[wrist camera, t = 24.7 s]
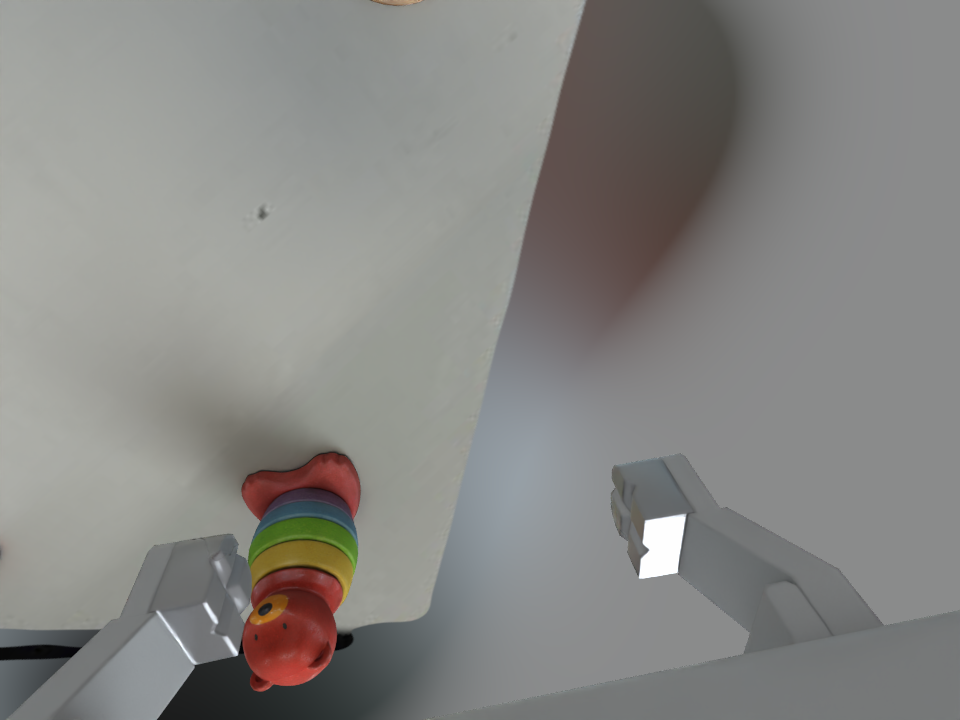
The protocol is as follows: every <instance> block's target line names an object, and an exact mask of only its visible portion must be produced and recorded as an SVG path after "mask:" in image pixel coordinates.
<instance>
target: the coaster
mask: <svg viewBox="0 0 960 720" xmlns="http://www.w3.org/2000/svg"><path fill="white" fill-rule="evenodd" d="M371 1H373V2H377V3H381V4H385V5H394V6H397V5H409V4H414V3H418V2H420V1H423V0H371Z"/></svg>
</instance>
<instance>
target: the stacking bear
mask: <svg viewBox="0 0 960 720" xmlns="http://www.w3.org/2000/svg"><path fill="white" fill-rule="evenodd" d="M242 497H243V499H244V501H245V503H246V505H247V506H248V508H249V509H250V510H251V512H252V513H253V514H254V515H255V516H256V517H257V518H258V519H259V520H260V521H261V522H260V523H259V525H258V527H257V529H256V532H255V534H254V537H253V540H252V543H251V546H250V549H249V556H248V564H249V567H250V571H251V575H252V593H251V603H252V606H253V609H254V610H253V611H252V613H251V614H250V616H249V617H248V619H247V621H246V623H245V626H244V630H243V649H244V654H245V657H246V660H247V662H248V664H249V666H250V667H251V669H252V670H253V671H254V672H253V674H252V676H251V679H250V684H251V686H252V688H253V689H254V690H256V691H264V690H267V689H268V688H270V687H271V686H272V685H273V684H277V685H282V686H290V685H298V684H302V683H304V682H307V681H309V680H310V679H312V678H314V677H315V676H316V675H318V674H319V673H320V672H321V671H322V670H323V669H324V668H325V667H326V666H327V665H328V664H329V662H330V660H331V658H332V654H333V652H334V649H335V645H336V638H337V630H336V623H335V620H334V617H333V614H334V613H335V611H336V610H337V609H338V607H339V606H340V605H341V604H342V603H343V602H344V600H345V599H346V597H347V594H348V592H349V589H350V586H351V582H352V578H353V575H354V572H355V568H356V564H357V557H358V539H357V533H356V528H355V525H354V522H353V519H354V517H355V515H356V512H357V509H358V506H359V501H360V482H359V478H358V474H357V472H356V470H355V468H354V466H353V465H352V463H351V462H350V460H349V459H348V458H347V457H345V456H343V455H338V454H336V453H327V454H321V455H318V456H316V457H314V458H313V459H312V460H311V461H310V462H309V463H308V464H307V465H305V466H304V467H302V468H300V469H297V470H294V471H290V472H285V473H279V472H269V471H261V472H258V473H256V474H253V475H249V476H248V477H247V478H246V480H245V483H244V484H243V486H242Z"/></svg>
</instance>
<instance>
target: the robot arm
mask: <svg viewBox="0 0 960 720" xmlns="http://www.w3.org/2000/svg"><path fill="white" fill-rule="evenodd" d="M612 480H613V482H614V485H615V487H616V488H615V489H614V490H613V491H612V492H611V509H612V515H613V519H614V522H615V525H616V528H617V530H618V532H619V535H620V536H621V537H623V538H624V539H626V540H627V541H628V551H627V553H628V555H629V557H630V559H631V562H632V564H633V566H634V568H635V570H636V573H637V575H638V577H639V579H641V578H647V577H653V576H660V575H666V574H672V573H678V572H679V573H678V575H680V576H681V577H682V578H683V579H684V580H686V581H687V582H688V583H689V584H691V585H692V586H693V587H694V588H695V589H697V590H698V591H699V592H700V593H702V594H703V595H704V596H705V597H707V598H708V599H709V600H711V601H712V602H713V603H714V604H715V605H716V606H718V607H719V608H720V609H721V610H723V611H724V612H725V613H726V614H728V615H729V616H730V617H731V618H732V619H734V620H735V621H736V622H737V623H739V624H740V625H741V626H742V627H743V628H745V629H746V630H747V631H748V632H750V635H749V638H748V642H747V644H746V647H745V651H744V654H742V655H738V656H733V657H728V658H723V659H718V660H713V661H709V662H703V663H698V664H693V665H689V666H684V667H679V668H674V669H669V670H664V671H659V672H654V673H649V674H645V675H640V676H635V677H630V678H625V679H620V680H615V681H610V682H605V683H600V684H595V685H591V686H586V687H581V688H576V689H571V690H566V691H561V692H556V693H551V694H546V695H541V696H537V697H532V698H527V699H522V700H517V701H512V702H507V703H502V704H498V705H493V706H487V707H483V708H478V709H473V710H468V711H463V712H458V713H453V714H448V715H443V716H439V717H434V718H429V719H425V720H960V610H958V611H953V612H948V613H943V614H939V615H934V616H929V617H924V618H919V619H914V620H910V621H904V622H900V623H895V624H890V625H885V626H884V625H883V624H882V622H881V621H880V620H879V619H878V617H877V616H876V615H875V614H874V612H873V611H872V610H871V609H870V607H869V606H868V605H867V604H866V602H865V601H864V600H863V599H862V597H861V596H860V595H859V594H858V592H857V591H856V590H855V589H854V587H853V586H852V585H851V584H850V583H849V581H848V580H847V579H846V577H845V576H844V575H843V574H842V573H841V571H840V570H839V569H838V568H836V567H834V566H832V565H831V564H828V563H827V562H825V561H823V560H822V559H820V558H818V557H816V556H814V555H813V554H811V553H809V552H807V551H805V550H803V549H802V548H800V547H798V546H796V545H794V544H793V543H791V542H789V541H787V540H785V539H784V538H782V537H780V536H778V535H776V534H775V533H773V532H771V531H769V530H767V529H765V528H764V527H762V526H760V525H758V524H756V523H755V522H753V521H751V520H749V519H747V518H746V517H744V516H742V515H740V514H738V513H736V512H735V511H733V510H731V509H729V508H727V507H725V508H720V507H719V506H718V504H717V503H716V501H715V500H714V498H713V497H712V495H711V494H710V492H709V491H708V490H707V488H706V487H705V485H704V484H703V482H702V481H701V479H700V478H699V476H698V475H697V473H696V472H695V470H694V469H693V468H692V466H691V464H690V463H689V461H688V460H687V458H686V457H685V456H684V455H682V454H675V455H669V456H664V457H659V458H653V459H647V460H642V461H636V462H631V463H626V464H620V465H615V466H614V467H613V469H612ZM238 545H239V544H238V543H237V541H236V539H235V537H234V536H233V534H224V535H217V536H210V537H204V538H197V539H190V540H184V541H179V542H173V543H167V544H160V545H154V546H153V547H152V548H151V549H150V550H149V551H148V553H147V555H146V558H145V560H144V562H143V565H142V567H141V569H140V572H139V574H138V576H137V578H136V581H135V583H134V585H133V588H132V590H131V592H130V595H129V597H128V599H127V602H126V604H125V606H124V609H123V611H122V613H121V616H120V618H119V619H114V620H111V621H110V622H109V623H108V624H107V625H106V626H105V627H104V628H103V629H102V630H101V631H99V632H98V633H97V634H96V635H95V636H94V637H93V638H92V639H91V640H90V641H89V642H88V643H87V644H86V645H85V646H84V647H82V648H81V649H80V650H79V651H78V652H77V653H76V654H75V655H74V656H73V657H72V658H71V659H70V660H69V661H68V662H67V663H66V664H65V665H63V666H62V667H61V668H60V669H59V670H58V671H57V672H56V673H55V674H54V675H53V676H52V677H51V678H50V679H49V680H48V681H46V682H45V683H44V684H43V685H42V686H41V687H40V688H39V689H38V690H37V691H36V692H35V693H34V694H33V695H32V696H31V697H29V698H28V699H27V700H26V701H25V702H24V703H23V704H22V705H21V706H20V707H19V708H18V709H17V710H16V711H15V712H14V713H12V714H11V715H10V716H9V717H8V718H7V719H6V720H157V718H158V717H159V716H160V714H161V713H162V711H163V710H164V709H165V707H166V706H167V705H168V703H169V702H170V701H171V699H172V698H173V696H174V695H175V694H176V692H177V691H178V690H179V688H180V687H181V685H182V684H183V683H184V681H185V680H186V678H187V677H188V676H189V675H190V673H191V672H192V671H193V669H194V665H196V664H201V663H205V662H210V661H215V660H219V659H223V658H228V657H233V656H237V655H238V652H239V648H240V643H241V639H242V634H243V630H244V626H245V624H244V622H243V620H242V618H241V616H240V614H241V613H242V612H243V611H244V609H245V608H246V607H247V606H248V605H249V603H250V598H251V593H252V575H251V571H250V567H249V564H248V562H247V560H246V558H244V557H242V556H240V555H238V554H236V553H237V549H238Z"/></svg>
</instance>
